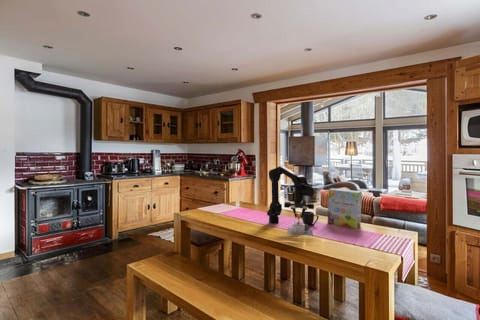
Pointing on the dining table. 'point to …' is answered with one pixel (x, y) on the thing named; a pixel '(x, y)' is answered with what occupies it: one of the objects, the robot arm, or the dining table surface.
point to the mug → (309, 218)
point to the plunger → (298, 216)
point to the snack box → (344, 207)
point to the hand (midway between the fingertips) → (298, 218)
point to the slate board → (300, 233)
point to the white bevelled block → (299, 227)
